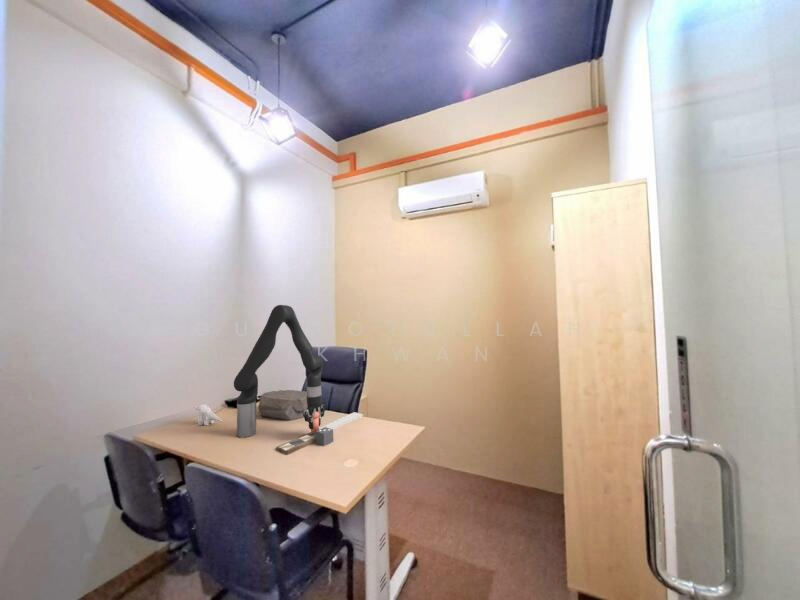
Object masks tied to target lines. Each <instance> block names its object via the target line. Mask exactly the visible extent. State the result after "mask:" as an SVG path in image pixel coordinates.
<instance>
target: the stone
mask: <svg viewBox="0 0 800 600" xmlns="http://www.w3.org/2000/svg"><path fill="white" fill-rule="evenodd" d="M307 407H308V405H307V390H306V391H304V390H303V391H302V390H294V389H291V390H290V389H286V390H281V389H279V390H277V391H275V390H272V391H268V392H267V391H266V392H264V393H262V394H260V397H259V403H258V406H257V409H258V412H259V415H261V416H263V417H269V418H273V419H280V420H285V421H294V420H298V419H300V418H304V416H303V413H302V412H303V411H305V410H307ZM308 414H309V412H308Z"/></svg>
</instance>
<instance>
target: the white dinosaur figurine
mask: <svg viewBox="0 0 800 600" xmlns="http://www.w3.org/2000/svg"><path fill="white" fill-rule="evenodd" d="M193 409H194V410H196V411H198V417H197V425H198V426H203V425H204V426H206V425H207V426H206V427H208V426H209V425H210V423H211V424H214V422H222V423H224V421H223V420H222V419H221V417H219V416H218V415H217V414H216V413H214V412H213V411H212V409H211V408H210V406H208V404H205V403H203V404H200V405H199V406H197V407H193Z"/></svg>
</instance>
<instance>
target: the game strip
mask: <svg viewBox="0 0 800 600" xmlns="http://www.w3.org/2000/svg"><path fill="white" fill-rule="evenodd" d="M314 443H316V433H311V431H310V432H308V433H305V434H303V435H300V436H298V437H296V438H293V439H291V440H289V441H286V442H284V443H282V444H280V445H278V446H276V451H278V452H281V453H282V454H285V455H287V456H288V455H290V454H293V453H295V452H298V451H299V450H301V449H303V448H305V447H307V446H310V445H311V444H314Z"/></svg>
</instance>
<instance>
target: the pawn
mask: <svg viewBox="0 0 800 600" xmlns="http://www.w3.org/2000/svg"><path fill="white" fill-rule="evenodd" d="M310 415H311V414H310ZM311 416H312V415H311ZM319 428H320V426H319V413H318V412H317V411H316V412H315V415H314V417H313V429H310V432H311V433H316V431H317V430H319Z"/></svg>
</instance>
